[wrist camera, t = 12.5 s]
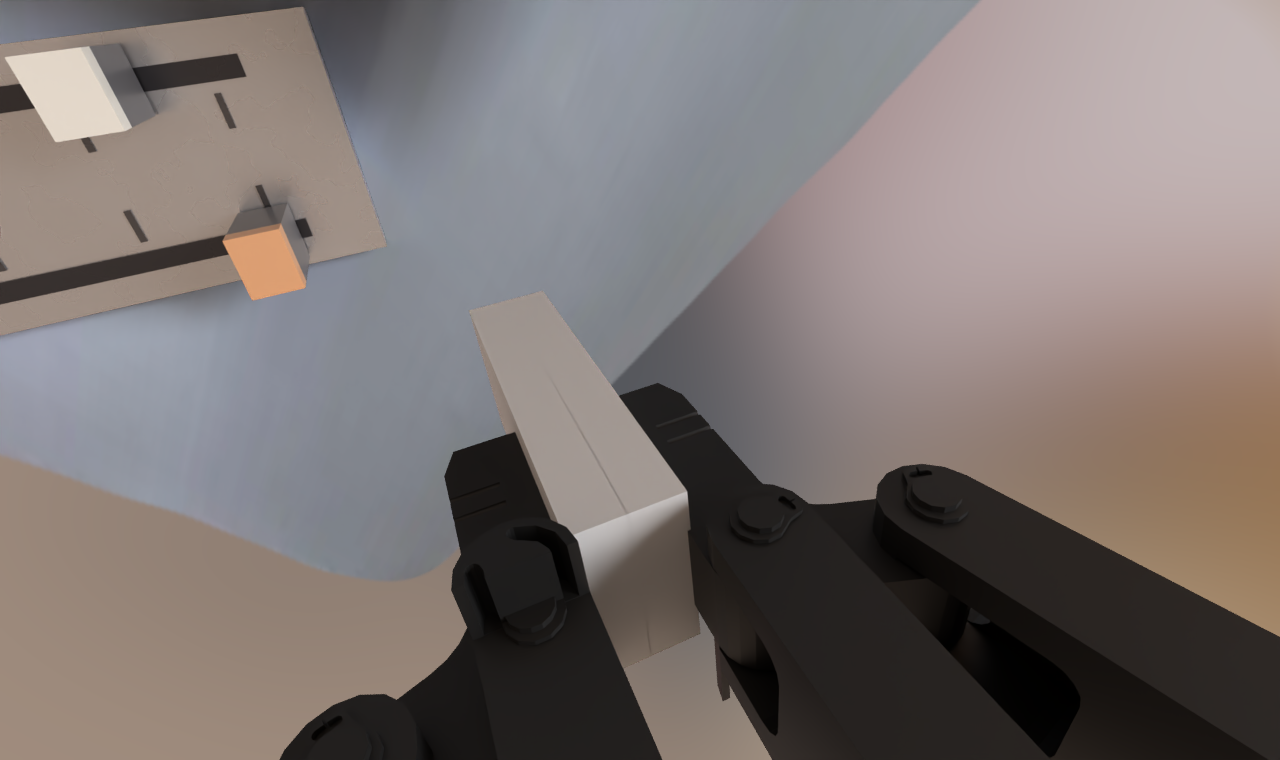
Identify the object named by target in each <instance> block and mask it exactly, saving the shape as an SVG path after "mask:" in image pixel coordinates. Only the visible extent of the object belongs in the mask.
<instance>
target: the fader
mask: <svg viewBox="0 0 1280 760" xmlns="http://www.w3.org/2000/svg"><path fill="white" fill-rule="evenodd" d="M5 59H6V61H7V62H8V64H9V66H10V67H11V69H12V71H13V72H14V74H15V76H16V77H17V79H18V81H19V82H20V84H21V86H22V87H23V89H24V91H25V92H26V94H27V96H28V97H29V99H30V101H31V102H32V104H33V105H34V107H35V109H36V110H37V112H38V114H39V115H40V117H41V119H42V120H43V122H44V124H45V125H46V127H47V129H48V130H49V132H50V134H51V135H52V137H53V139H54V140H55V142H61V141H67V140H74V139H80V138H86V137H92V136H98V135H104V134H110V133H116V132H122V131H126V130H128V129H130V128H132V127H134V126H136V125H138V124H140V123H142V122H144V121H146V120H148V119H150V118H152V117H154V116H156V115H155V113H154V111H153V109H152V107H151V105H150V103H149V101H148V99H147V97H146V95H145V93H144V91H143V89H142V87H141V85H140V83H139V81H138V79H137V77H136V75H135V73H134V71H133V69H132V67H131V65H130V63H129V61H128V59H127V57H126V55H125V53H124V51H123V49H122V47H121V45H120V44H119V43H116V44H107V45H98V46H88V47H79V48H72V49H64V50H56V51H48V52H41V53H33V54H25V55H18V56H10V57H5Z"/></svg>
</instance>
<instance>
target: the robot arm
mask: <svg viewBox="0 0 1280 760" xmlns="http://www.w3.org/2000/svg"><path fill="white" fill-rule="evenodd" d="M469 312H470V316H471V319H472V322H473V326H474V329H475V333H476V336H477V339H478V343H479V346H480V350H481V353H482V356H483V360H484V363H485V367H486V370H487V374H488V377H489V380H490V384H491V387H492V391H493V394H494V397H495V401H496V404H497V408H498V411H499V414H500V418H501V421H502V424H503V427H504V429H505V432H506V434H507V435H504V436H501V437H498V438H495V439H492V440H488V441H485V442H482V443H479V444H476V445H473V446H470V447H467V448H464V449H461V450H458V451H455V452H453V455H452V457H451V460H450V463H449V465H448V468H447V471H446V473H445V476H444V477H445V481H446V486H447V491H448V495H449V500H450V503H451V504H450V505H451V509H452V514H453V519H454V522H455V528H456V533H457V537H458V542H459V547H460V551H461V556H460V558H459V560H458V561H457V563H456V565H455V567H454V569H453V574H452V588H451V591H452V593H453V595H454V598H455V600H456V602H457V605H458V607H459V609H460V612H461V614H462V616H463V619H464V621H465V623H466V626H467V629H466V632H465V633H464V636H463V638H462V639H461V641H460V643H459V645H458V646H457V647H456V649H455V650H454V651H453V653H452V654H451V655H450V656H449V658H448V659H447V660H446V661H445V662H444V663H443V664H442V665H440V666H439V667H438V668H437V669H436V670H435V671H434V672H433V673H432V674H430V675H429V676H428V677H427V678H425V679H424V680H422V681H421V682H420V683H418V684H417V685H416V686H415V687H413V688H412V689H411V690H409V691H408V692H407V693H405V694H404V695H403V696H401V697H400V698H399V699H397V700H396V699H393V698H392V697H389V696H387V695H385V694H376V695H358V696H356V697H353V698H351V699H348V700H345V701H343V702H340V703H338V704H335V705H333V706H331V707H330V708H329V709H327V710H326V711H324V712H323V713H322V714H320V715H319V716H317V717H316V718H315V719H313V720H312V721H311V722H309V723H308V724H307V725H306V726H305V727H304V728H303V729H302V730H301V731H300V733H299V734H298V735H297V736H296V738H295V739H294V740H293V741H292V742H291V743H290V744H289V746H288V747H287V748H286V749H285V750H284V752H283V754H282V756H281V758H280V760H662V758H661V756H660V754H659V751H658V749H657V746H656V744H655V742H654V740H653V737H652V735H651V733H650V730H649V728H648V726H647V723H646V721H645V719H644V716H643V714H642V712H641V709H640V707H639V705H638V702H637V700H636V698H635V695H634V693H633V690H632V688H631V686H630V683H629V681H628V679H627V677H626V674H625V672H624V670H623V669H624V668H626V667H628V666H630V665H632V664H634V663H637V662H639V661H641V660H643V659H646V658H648V657H650V656H652V655H654V654H656V653H659V652H661V651H663V650H665V649H667V648H670V647H672V646H674V645H676V644H678V643H681V642H683V641H685V640H687V639H689V638H692V637H694V636H696V635H698V634H700V624H699V613H698V611H699V612H700V614H701V616H702V617H703V619H704V621H705V623H706V624H707V626H708V628H709V629H710V631H711V633H712V634H713V636H714V641H715V655H716V669H717V682H718V687H719V691H720V694H721V696H722V700H723V701H724V700H726V699H728V698H730V689H729V685H730V686H731V688H732V690H733V692H734V693H735V695H736V697H737V699H738V700H739V702H740V704H741V706H742V707H743V709H744V711H745V713H746V714H747V716H748V718H749V720H750V721H751V723H752V725H753V726H754V728H755V730H756V732H757V733H758V735H759V737H760V739H761V741H762V742H763V744H764V746H765V748H766V749H767V751H768V753H769V755H770V756H771V758H772V760H1280V637H1279V636H1277V635H1275V634H1273V633H1271V632H1269V631H1267V630H1265V629H1263V628H1261V627H1259V626H1257V625H1255V624H1254V623H1251V622H1250V621H1248V620H1246V619H1244V618H1242V617H1240V616H1238V615H1236V614H1234V613H1232V612H1230V611H1228V610H1227V609H1225V608H1223V607H1221V606H1219V605H1217V604H1215V603H1213V602H1211V601H1209V600H1207V599H1205V598H1203V597H1201V596H1199V595H1197V594H1195V593H1194V592H1191V591H1190V590H1188V589H1186V588H1184V587H1182V586H1180V585H1178V584H1176V583H1174V582H1172V581H1170V580H1168V579H1166V578H1164V577H1162V576H1161V575H1159V574H1157V573H1155V572H1153V571H1151V570H1149V569H1147V568H1145V567H1143V566H1141V565H1139V564H1137V563H1135V562H1133V561H1132V560H1130V559H1128V558H1126V557H1124V556H1122V555H1120V554H1118V553H1116V552H1114V551H1112V550H1110V549H1108V548H1106V547H1104V546H1102V545H1100V544H1099V543H1097V542H1095V541H1093V540H1091V539H1089V538H1087V537H1085V536H1083V535H1081V534H1079V533H1077V532H1075V531H1073V530H1071V529H1069V528H1067V527H1066V526H1064V525H1062V524H1060V523H1058V522H1056V521H1054V520H1052V519H1050V518H1048V517H1046V516H1044V515H1042V514H1040V513H1038V512H1037V511H1034V510H1033V509H1031V508H1029V507H1027V506H1025V505H1023V504H1021V503H1019V502H1017V501H1015V500H1013V499H1011V498H1009V497H1007V496H1005V495H1004V494H1001V493H1000V492H998V491H996V490H994V489H992V488H990V487H988V486H986V485H984V484H982V483H980V482H978V481H976V480H974V479H973V478H971V477H969V476H967V475H964V474H962V473H959V472H956V471H954V470H951V469H948V468H946V467H941V466H933V465H926V464H918V465H909V466H902V467H900V468H898V469H895V470H893V471H891V472H889V473H887V474H886V475H885V476H884V478H883V479H882V480H881V482H880V483H879V484H878V487H877V494H876V499H872V500H863V501H854V502H845V503H837V504H808V503H807V502H805V500H803V499H802V498H800V497H799V496H798V495H796V494H795V493H794V492H792V491H790V490H787V489H784V488H781V487H778V486H775V485H770V484H769V485H768V484H762V483H761V482H760V481H759V480H758V479H757V478H756V476H754V474H753V473H752V472H751V471H750V470H749V469H748V468H747V466H745V464H744V463H743V462H742V461H741V460H740V459H739V458H738V456H737V455H736V454H735V453H734V452H733V451H732V450H731V449H730V447H729V446H728V445H727V444H726V443H725V442H724V441H723V440H722V438H721V437H720V436H719V435H718V434H717V433H716V432H715V431H714V429H710V425H709V424H708V423H707V422H706V421H705V419H704V418H703V417H702V416H701V415H698V413H697V410H696V409H695V408H694V407H693V406H692V405H691V404H690V403H689V402H688V400H687V399H686V398H685V397H684V396H683V395H682V394H680V393H678V392H676V391H674V390H672V389H670V388H668V387H665V386H663V385H661V384H659V383H656V384H654V385H650V386H648V387H644V388H641V389H638V390H635V391H632V392H629V393H626V394H623V395H620V396H618V395H617V393H616V392H615V391H614V389H613V388H612V386H611V385H610V383H609V382H608V381H607V379H606V378H605V377H604V375H603V374H602V372H601V371H600V370H599V368H598V367H597V365H596V364H595V363H594V361H593V360H592V359H591V357H590V356H589V354H588V353H587V352H586V350H585V349H584V347H583V346H582V345H581V343H580V342H579V340H578V339H577V338H576V336H575V335H574V334H573V332H572V331H571V329H570V328H569V327H568V325H567V324H566V322H565V321H564V320H563V318H562V317H561V316H560V314H559V313H558V311H557V310H556V309H555V307H554V306H553V304H552V303H551V302H550V300H549V299H548V297H547V296H546V295H545V293H544V292H543V291H541V292H537V293H533V294H529V295H526V296H522V297H518V298H514V299H511V300H507V301H503V302H499V303H496V304H492V305H488V306H484V307H481V308H477V309H473V310H469Z"/></svg>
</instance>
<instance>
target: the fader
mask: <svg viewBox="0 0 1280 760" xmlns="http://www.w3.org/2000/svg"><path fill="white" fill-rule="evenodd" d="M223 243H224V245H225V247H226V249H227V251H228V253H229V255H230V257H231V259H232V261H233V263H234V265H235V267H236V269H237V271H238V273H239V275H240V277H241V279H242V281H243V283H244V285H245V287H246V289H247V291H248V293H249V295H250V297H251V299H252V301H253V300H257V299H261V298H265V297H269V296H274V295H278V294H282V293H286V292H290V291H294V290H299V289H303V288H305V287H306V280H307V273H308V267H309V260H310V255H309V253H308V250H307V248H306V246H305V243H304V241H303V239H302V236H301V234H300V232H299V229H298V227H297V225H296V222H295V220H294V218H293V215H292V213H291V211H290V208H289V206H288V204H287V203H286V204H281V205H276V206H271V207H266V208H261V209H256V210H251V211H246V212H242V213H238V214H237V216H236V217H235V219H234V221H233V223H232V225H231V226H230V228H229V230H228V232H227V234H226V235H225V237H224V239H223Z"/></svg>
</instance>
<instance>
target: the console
mask: <svg viewBox="0 0 1280 760" xmlns="http://www.w3.org/2000/svg"><path fill="white" fill-rule="evenodd" d="M116 43H119V44H120V45H121V47H122V49H123V51H124V53H125V55H126V57H127V59H128V61H129V63H130V65H131V67H132V69H133V71H134V73H135V75H136V77H137V79H138V81H139V83H140V85H141V87H142V89H143V91H144V93H145V95H146V97H147V99H148V101H149V103H150V105H151V107H152V109H153V111H154V113H155V115H156V116H154V117H152V118H150V119H148V120H146V121H144V122H142V123H140V124H138V125H136V126H134V127H132V128H130V129H128V130H126V131H122V132H116V133H110V134H104V135H98V136H92V137H86V138H80V139H74V140H67V141H61V142H55V140H54V139H53V137H52V135H51V134H50V132H49V130H48V129H47V127H46V125H45V124H44V122H43V120H42V119H41V117H40V115H39V114H38V112H37V110H36V109H35V107H34V105H33V104H32V102H31V101H30V99H29V97H28V96H27V94H26V92H25V91H24V89H23V87H22V86H21V84H20V82H19V81H18V79H17V77H16V76H15V74H14V72H13V71H12V69H11V67H10V66H9V64H8V62H7V61H6V59H5V57H10V56H18V55H25V54H33V53H41V52H48V51H56V50H64V49H72V48H79V47H88V46H98V45H107V44H116ZM286 203H287V204H288V206H289V208H290V211H291V213H292V215H293V218H294V220H295V222H296V225H297V227H298V229H299V232H300V234H301V236H302V239H303V241H304V243H305V246H306V248H307V250H308V253H309V255H310V260H309V264H312V263H317V262H321V261H325V260H330V259H334V258H338V257H343V256H347V255H351V254H356V253H360V252H364V251H369V250H373V249H377V248H382V247H386V246H387V244H386V238H385V234H384V232H383V229H382V226H381V223H380V220H379V217H378V215H377V212H376V209H375V206H374V203H373V200H372V197H371V195H370V192H369V189H368V186H367V183H366V180H365V177H364V175H363V172H362V169H361V166H360V163H359V160H358V157H357V155H356V152H355V149H354V146H353V143H352V140H351V138H350V135H349V132H348V129H347V126H346V123H345V120H344V118H343V115H342V112H341V109H340V106H339V103H338V100H337V98H336V95H335V92H334V89H333V86H332V83H331V81H330V78H329V75H328V72H327V69H326V66H325V63H324V61H323V58H322V55H321V52H320V49H319V46H318V43H317V41H316V38H315V35H314V32H313V29H312V26H311V23H310V21H309V18H308V15H307V12H306V9H305V7H296V8H288V9H280V10H272V11H264V12H256V13H248V14H240V15H232V16H224V17H216V18H208V19H200V20H192V21H184V22H176V23H168V24H160V25H152V26H144V27H136V28H128V29H120V30H112V31H104V32H96V33H88V34H80V35H72V36H64V37H56V38H48V39H40V40H32V41H24V42H16V43H8V44H0V335H4V334H9V333H13V332H17V331H22V330H26V329H30V328H35V327H39V326H44V325H48V324H52V323H57V322H61V321H65V320H70V319H74V318H78V317H83V316H87V315H91V314H96V313H100V312H104V311H109V310H113V309H117V308H122V307H126V306H130V305H135V304H139V303H143V302H148V301H152V300H156V299H161V298H165V297H169V296H174V295H178V294H182V293H187V292H191V291H195V290H200V289H204V288H208V287H213V286H217V285H221V284H226V283H230V282H234V281H239V280H242V279H241V277H240V275H239V273H238V271H237V269H236V267H235V265H234V263H233V261H232V259H231V257H230V255H229V253H228V251H227V249H226V247H225V245H224V243H223V239H224V237H225V235H226V234H227V232H228V230H229V228H230V226H231V225H232V223H233V221H234V219H235V217H236V216H237V214H238V213H242V212H246V211H251V210H256V209H261V208H266V207H271V206H276V205H281V204H286Z"/></svg>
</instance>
